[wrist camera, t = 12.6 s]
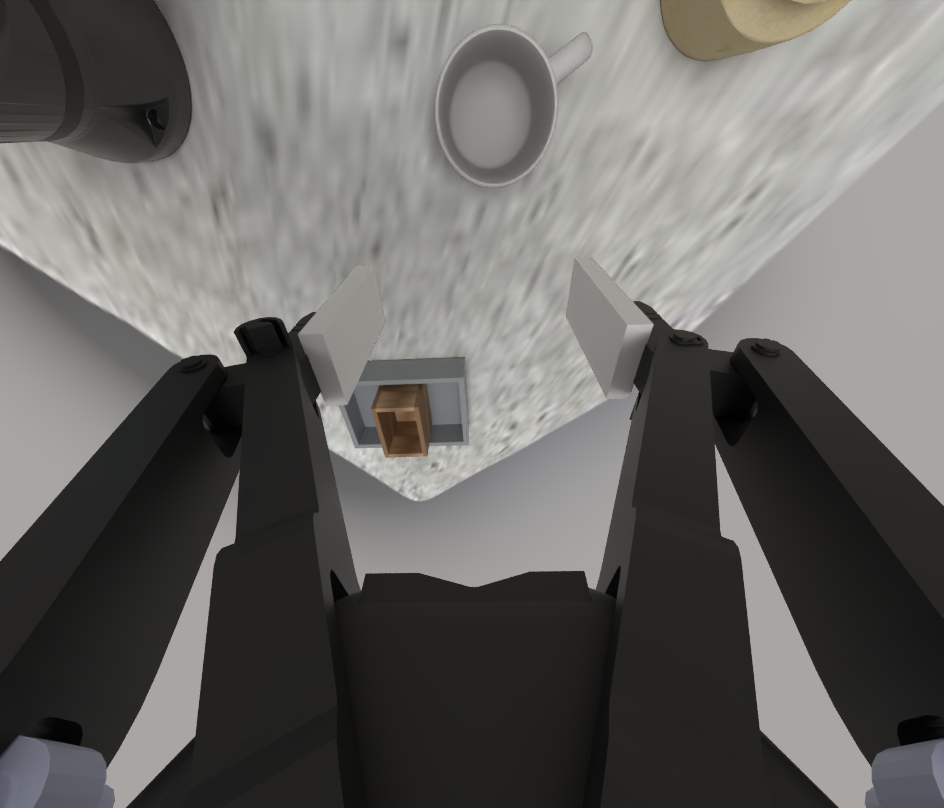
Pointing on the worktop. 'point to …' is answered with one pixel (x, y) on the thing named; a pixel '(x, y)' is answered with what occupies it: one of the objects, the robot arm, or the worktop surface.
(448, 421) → the grey crate
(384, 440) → the walnut crate
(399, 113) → the worktop surface
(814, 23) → the beige teapot
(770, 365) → the robot arm
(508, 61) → the mug
